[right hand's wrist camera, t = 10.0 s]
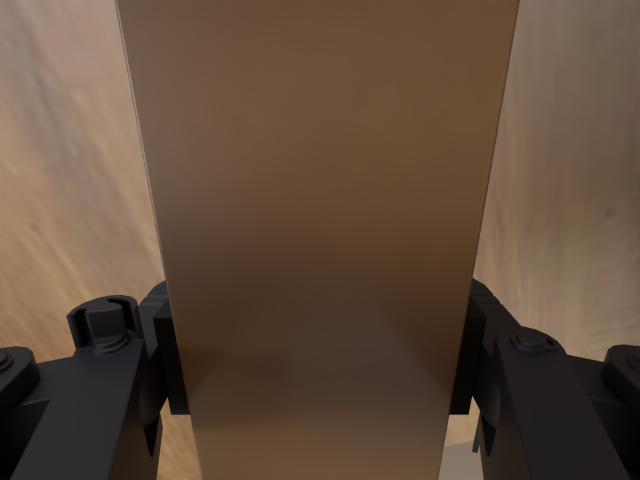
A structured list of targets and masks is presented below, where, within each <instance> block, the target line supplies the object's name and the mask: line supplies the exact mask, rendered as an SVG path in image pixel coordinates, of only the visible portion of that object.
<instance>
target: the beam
mask: <svg viewBox="0 0 640 480" xmlns="http://www.w3.org/2000/svg"><path fill="white" fill-rule="evenodd" d="M519 1H520V0H115V5H116V10H117V16H118V21H119V27H120V32H121V38H122V43H123V49H124V54H125V60H126V65H127V71H128V76H129V82H130V87H131V93H132V98H133V104H134V109H135V115H136V120H137V126H138V131H139V137H140V142H141V148H142V153H143V159H144V164H145V170H146V175H147V181H148V186H149V192H150V198H151V203H152V209H153V214H154V220H155V225H156V231H157V236H158V242H159V247H160V253H161V258H162V264H163V269H164V275H165V280H166V286H167V291H168V297H169V302H170V308H171V313H172V319H173V324H174V330H175V335H176V341H177V346H178V352H179V357H180V363H181V368H182V374H183V379H184V385H185V390H186V396H187V401H188V407H189V412H190V418H191V423H192V429H193V434H194V440H195V445H196V451H197V456H198V462H199V467H200V473H201V478H202V480H438V478H439V472H440V466H441V460H442V454H443V448H444V442H445V436H446V431H447V425H448V419H449V413H450V407H451V401H452V395H453V389H454V384H455V378H456V372H457V366H458V360H459V354H460V348H461V342H462V336H463V331H464V325H465V319H466V313H467V307H468V301H469V295H470V289H471V284H472V278H473V272H474V266H475V260H476V254H477V248H478V242H479V236H480V231H481V225H482V219H483V213H484V207H485V201H486V195H487V189H488V184H489V178H490V172H491V166H492V160H493V154H494V148H495V142H496V137H497V131H498V125H499V119H500V113H501V107H502V101H503V95H504V89H505V84H506V78H507V72H508V66H509V60H510V54H511V48H512V42H513V37H514V31H515V25H516V19H517V13H518V7H519Z"/></svg>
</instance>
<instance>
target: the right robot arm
mask: <svg viewBox="0 0 640 480" xmlns="http://www.w3.org/2000/svg"><path fill="white" fill-rule="evenodd" d="M67 320H68V323H69V327H70V330H71V333H72V337H73V340H74V344H75V347H76V351H75V353H74V355H73V356H72V357H68V358H63V359H58V360H52V361H47V362H42V363H36V361H35V358H34V355H33V352H32V351H31V350H30V349H28V348H27V347H18V346H14V347H6V348H0V480H156V478H157V470H158V462H159V454H160V446H161V438H162V430H163V426H162V419H161V415H160V411H161V409H162V407H163V405H164V403H165V401H166V399H167V397H168V401H169V406H170V411H171V415H190V412H189V407H188V401H187V396H186V390H185V385H184V379H183V374H182V368H181V363H180V357H179V352H178V346H177V341H176V335H175V330H174V324H173V319H172V313H171V308H170V302H169V297H168V291H167V286H166V280H165V281H163V282H161V283H160V284H158V285H156V286H155V287H154V288H153V289H152V290H151V291H150V293H149V294H148V295H147V298H144V299H143V301H142V302H141V303H140V306H138V304H137V300H135V299H134V298H132V297H130V296H125V295H111V296H105V297H101V298H96V299H93V300H91V301H88V302H85V303H83V304H81V305H79V306H78V307H76V308H74V309H73V310H72V311H71V312H70V313H69V314H68V315H67ZM472 396H473V398H474V400H475V402H476V404H477V405H478V407H479V409H480V415H479V419H478V424H477V429H476V434H475V439H474V444H473V450H472V452H475V453H477V452H478V447H479V445H480V453H481V461H482V469H483V477H484V480H640V346H632V345H615V346H612V347H611V348H610V349H608V351H607V354H606V357H605V360H604V362H601V361H596V360H591V359H586V358H581V357H576V356H571V355H567V354H566V352H565V350H564V348H563V347H562V346H561V345H560V344H559V342H558V341H556V340H555V339H553V338H552V337H550V336H549V335H547V334H545V333H543V332H540V331H538V330H536V329H532V328H527V327H523V326H521V325H520V324H519V323H518V322H517V321H516V320H515V319H514V317H513V316H512V315H511V314H510V313H509V312H508V311H507V309H506V308H505V307H504V306H503V305H502V304H500V302H499V300H498V299H497V298H496V297H495V296H493V294H492V292H491V291H490V290H489V289H488V288H487V287H486V286H485V285H484V284H482V283H481V282H479V281H477V280H475V279H474V278H472V284H471V289H470V295H469V301H468V307H467V313H466V319H465V325H464V331H463V336H462V342H461V348H460V354H459V360H458V366H457V372H456V378H455V384H454V389H453V395H452V401H451V407H450V413H449V415H469V410H470V405H471V399H472Z"/></svg>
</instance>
